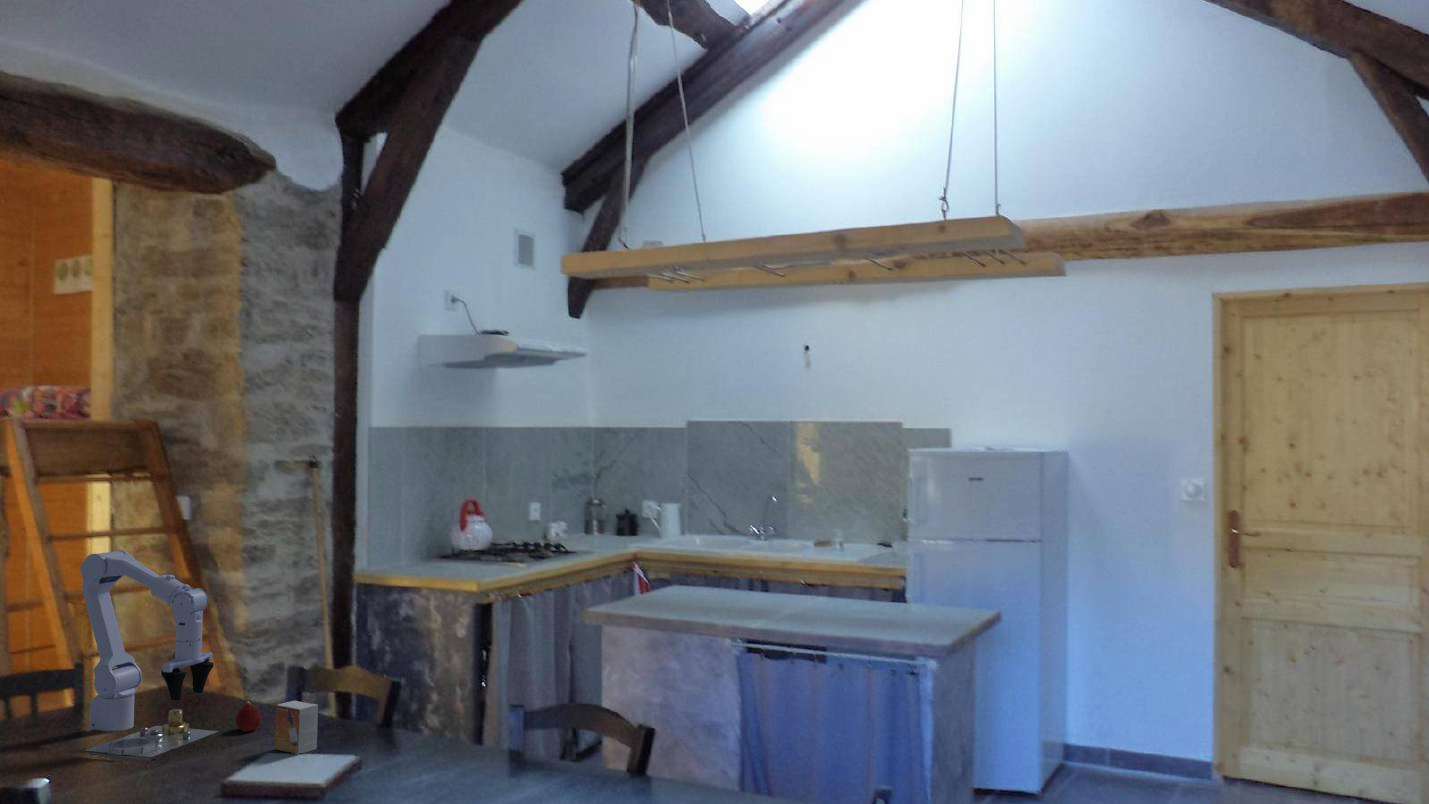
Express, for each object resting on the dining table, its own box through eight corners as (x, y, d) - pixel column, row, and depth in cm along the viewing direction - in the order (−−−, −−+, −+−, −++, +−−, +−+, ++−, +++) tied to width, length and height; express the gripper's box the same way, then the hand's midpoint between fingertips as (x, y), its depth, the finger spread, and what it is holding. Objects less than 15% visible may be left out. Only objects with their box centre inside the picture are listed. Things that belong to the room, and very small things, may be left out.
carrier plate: (82, 755, 247) (82, 741, 247) (156, 729, 269) (156, 716, 269) (148, 762, 243) (149, 747, 243) (218, 735, 265) (219, 721, 265)
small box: (273, 750, 253) (275, 704, 253) (293, 744, 258) (294, 699, 258) (298, 755, 249) (299, 709, 250) (317, 749, 254) (318, 703, 255)
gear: (155, 733, 262) (156, 712, 262) (173, 727, 268) (174, 706, 268) (176, 735, 261) (177, 714, 261) (194, 729, 266) (194, 708, 267)
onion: (265, 731, 269) (266, 698, 269) (253, 737, 263) (254, 704, 263) (243, 730, 269) (243, 698, 269) (230, 736, 263) (231, 703, 264)
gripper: (181, 646, 256) (179, 704, 255) (223, 635, 270) (221, 690, 269) (156, 644, 257) (154, 702, 257) (199, 633, 272) (197, 688, 271)
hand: (187, 696), depth 263 cm, fingers open, 7 cm apart
